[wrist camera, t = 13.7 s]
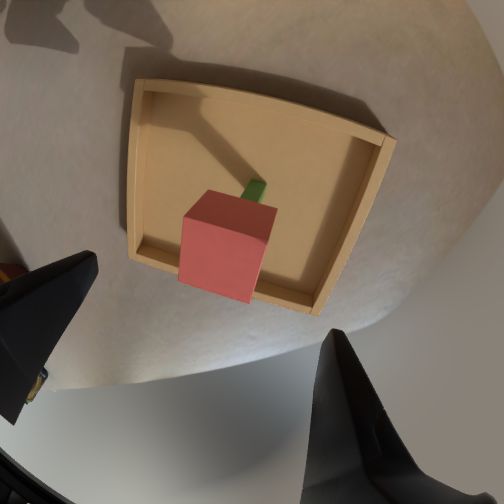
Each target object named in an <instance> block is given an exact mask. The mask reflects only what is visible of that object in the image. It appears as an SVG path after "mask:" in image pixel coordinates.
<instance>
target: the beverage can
mask: <svg viewBox="0 0 504 504" xmlns="http://www.w3.org/2000/svg"><path fill="white" fill-rule="evenodd" d="M47 377H48V372H47V371H46V369H45V368H44V367H43V368H42V370H41V372H40V374H39V376H38V378H37V379H36V381H35V383H34V385H33V387H32V389H31V391H30V393H29V395H28V397H27V399H26V401H25V403H26V404H28V403H29V402H32V401H33V399H34V398H35V396H36V394H37V393H38V391H39V390H40V388H41V387H42V385H43V384H44V382H45V380H46V379H47Z"/></svg>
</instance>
